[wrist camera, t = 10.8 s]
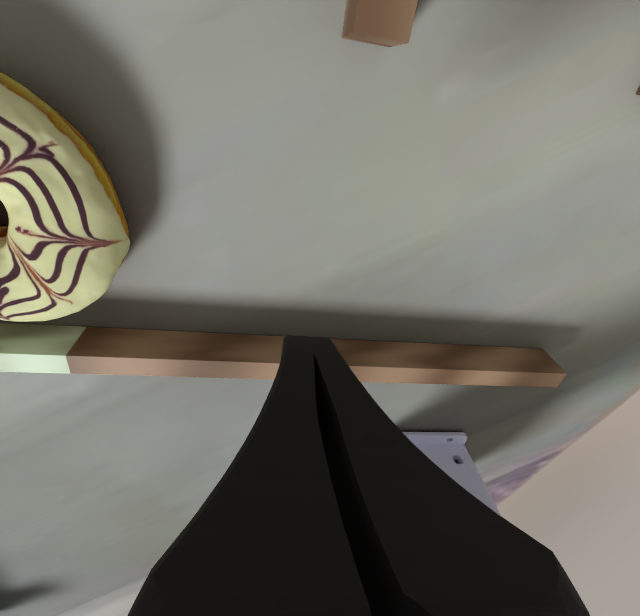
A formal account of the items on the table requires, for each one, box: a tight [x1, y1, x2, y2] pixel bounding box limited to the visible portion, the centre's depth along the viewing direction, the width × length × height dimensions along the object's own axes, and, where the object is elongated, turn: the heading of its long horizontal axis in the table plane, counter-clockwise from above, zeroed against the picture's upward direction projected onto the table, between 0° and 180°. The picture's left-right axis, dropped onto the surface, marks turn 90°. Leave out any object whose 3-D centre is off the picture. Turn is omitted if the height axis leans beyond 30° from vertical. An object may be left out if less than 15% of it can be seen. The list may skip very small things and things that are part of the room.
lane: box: [0, 0, 640, 387], centre depth 14 cm, size 39×26×4 cm, turn 82°
